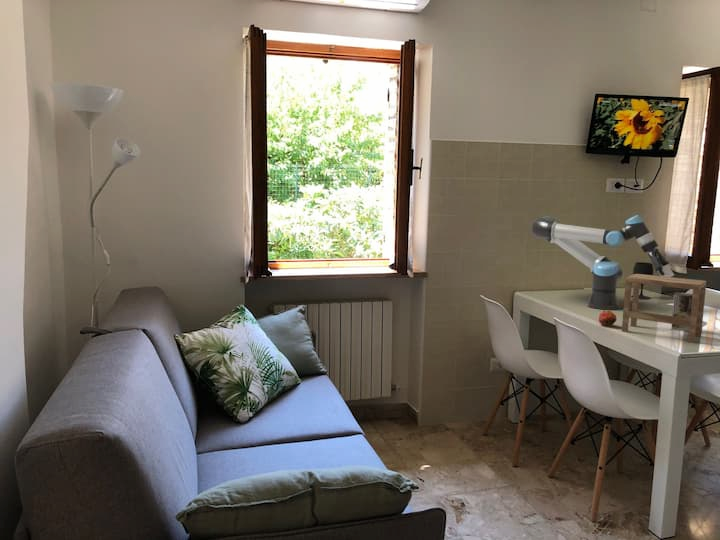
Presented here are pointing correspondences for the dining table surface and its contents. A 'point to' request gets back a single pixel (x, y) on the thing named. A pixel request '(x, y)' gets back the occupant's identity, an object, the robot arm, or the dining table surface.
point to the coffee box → (682, 309)
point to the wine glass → (643, 269)
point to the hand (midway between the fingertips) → (669, 278)
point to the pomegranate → (607, 318)
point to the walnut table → (693, 322)
